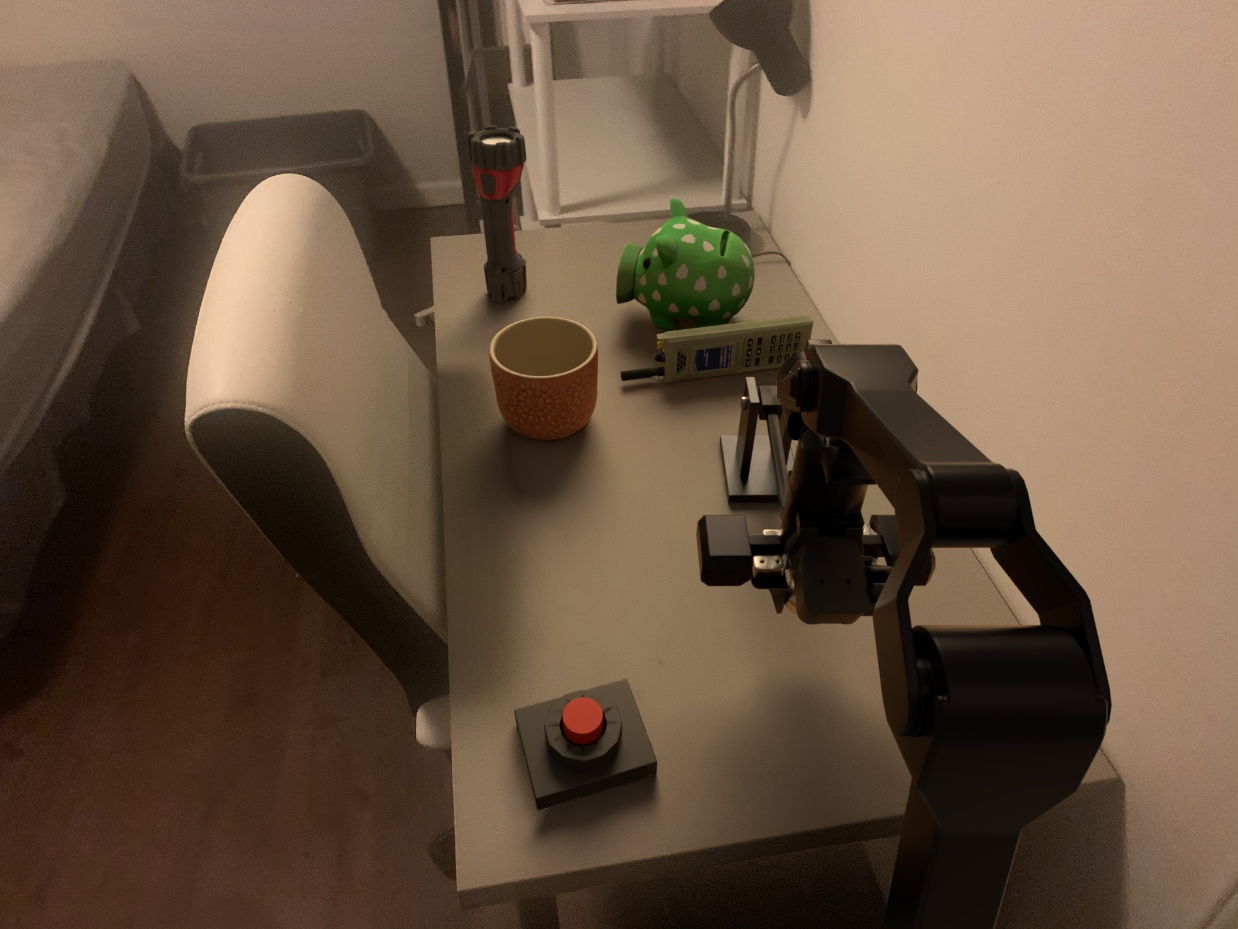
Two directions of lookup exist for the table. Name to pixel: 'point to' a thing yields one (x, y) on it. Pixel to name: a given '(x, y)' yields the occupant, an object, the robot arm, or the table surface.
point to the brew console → (584, 747)
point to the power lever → (777, 462)
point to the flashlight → (499, 206)
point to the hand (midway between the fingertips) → (796, 609)
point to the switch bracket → (752, 454)
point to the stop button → (582, 721)
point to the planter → (545, 376)
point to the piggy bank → (687, 273)
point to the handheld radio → (726, 349)
